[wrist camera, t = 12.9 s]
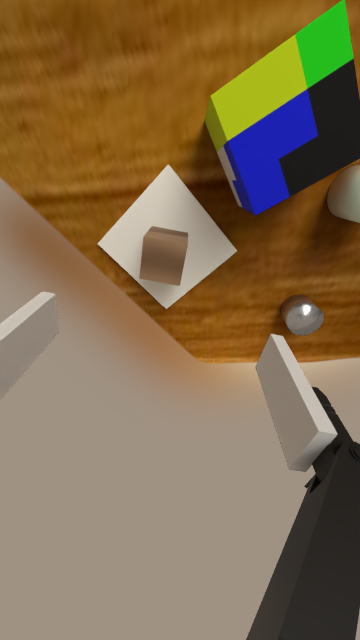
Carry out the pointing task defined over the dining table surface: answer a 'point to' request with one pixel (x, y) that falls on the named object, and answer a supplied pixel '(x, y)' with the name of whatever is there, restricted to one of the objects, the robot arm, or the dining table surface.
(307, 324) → the grey tin
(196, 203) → the plate
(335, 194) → the pale green egg
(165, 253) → the walnut block
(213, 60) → the dining table surface
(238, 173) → the puzzle toy
